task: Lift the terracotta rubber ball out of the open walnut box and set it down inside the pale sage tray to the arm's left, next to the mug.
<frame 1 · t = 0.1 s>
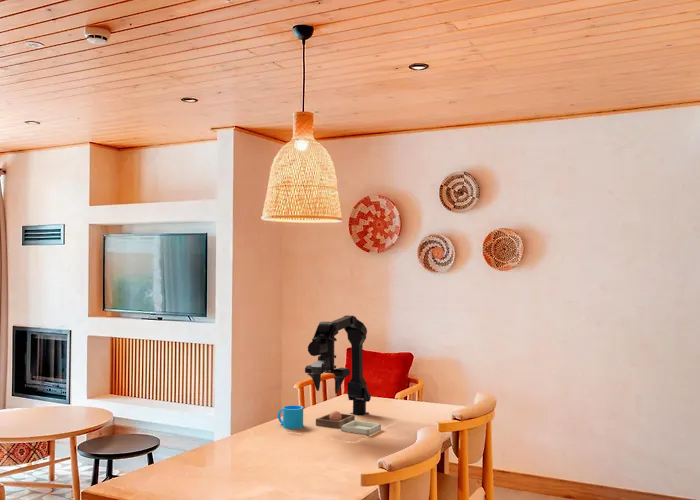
hand: (327, 392, 248), 14 cm above the table, fingers open, 9 cm apart
mug: (289, 427, 249), on the table
ball: (335, 423, 253), point 1 cm above the table, touching walnut box
tray: (360, 431, 243), on the table
walnut box: (335, 424, 253), on the table
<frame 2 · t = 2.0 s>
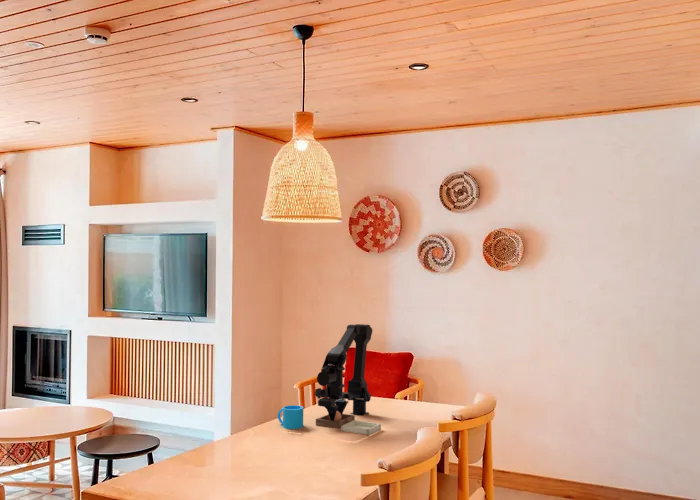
hand: (335, 420, 253), 2 cm above the table, fingers closed on ball, 5 cm apart
ball: (335, 423, 253), point 1 cm above the table, touching gripper, walnut box
everything else where it was.
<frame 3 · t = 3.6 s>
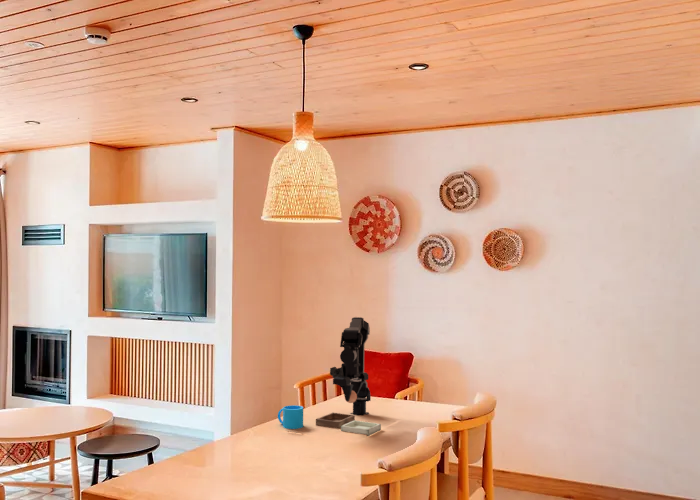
hand: (350, 400, 247), 11 cm above the table, fingers closed on ball, 5 cm apart
ball: (350, 402, 247), point 10 cm above the table, touching gripper
everything else where it was.
when the fingers open (3 cm above the table, at t = 5.2 s): ball drops 1 cm, resting on tray.
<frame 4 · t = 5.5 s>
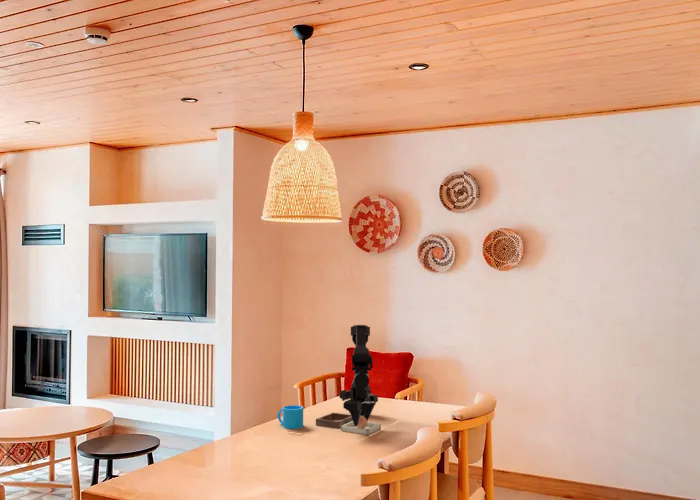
hand: (360, 423, 243), 3 cm above the table, fingers open, 8 cm apart
ball: (360, 429, 243), point 1 cm above the table, touching tray
everything else where it was.
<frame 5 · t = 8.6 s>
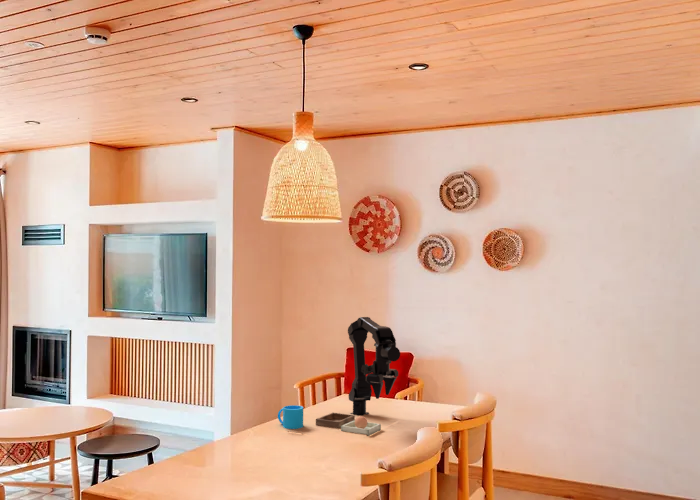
hand: (382, 396, 251), 12 cm above the table, fingers open, 9 cm apart
nothing on the table moved.
at the end: ball inside the target area on the tray (0.1 cm from its centre), point 0.8 cm above the tray's base; the gripper is holding nothing; ball touching tray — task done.
